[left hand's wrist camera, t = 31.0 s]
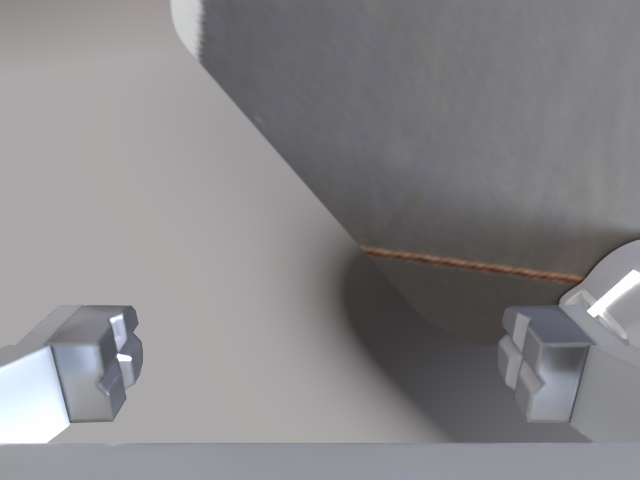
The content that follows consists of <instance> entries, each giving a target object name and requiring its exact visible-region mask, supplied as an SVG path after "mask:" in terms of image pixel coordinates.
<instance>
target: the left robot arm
mask: <svg viewBox="0 0 640 480" xmlns="http://www.w3.org/2000/svg"><path fill="white" fill-rule="evenodd" d="M137 325H138V320H137V315H136V311H135V309H134V308H133V307H132V306H114V305H84V304H83V305H61V306H58V307H57V308H56V309H54V310H53V311H52V312H51V313H50V314H49V315H48V316H47V317H46V318H45V319H44V320H43V321H41V322H40V323H39V324H38V325H37V326H36V327H35V328H34V329H33V330H32V331H31V332H30V333H28V334H27V335H26V336H25V337H24V338H23V339H22V340H21V341H20V342H19V343H18V344H16V345H7V346H5V347H2V348H0V480H640V239H639V240H636V241H633V242H630V243H628V244H625V245H623V246H621V247H620V248H618V249H616V250H614V251H613V252H611V253H610V254H609V255H607V256H606V257H605V258H604V259H602V260H601V261H600V262H599V263H598V264H597V265H596V266H595V267H594V269H593V270H592V271H591V272H590V274H589V275H588V276H587V277H586V279H585V280H584V281H583V282H582V283H581V284H579V285H577V286H576V287H574V288H573V289H571V290H570V291H568V292H567V293H566V294H564V295H563V296H562V297H561V299H560V301H559V305H534V306H509V307H506V309H505V311H504V314H503V319H502V325H503V327H504V328H505V330H506V331H507V333H506V334H505V335H504V336H503V337H502V338H501V339H500V341H499V343H498V351H497V360H498V368H499V371H500V375H501V377H502V379H503V381H504V383H505V384H506V385H508V386H509V387H511V388H512V389H514V390H515V394H514V400H515V402H516V403H517V405H518V407H519V409H520V410H521V412H522V414H523V415H524V417H525V419H526V420H527V422H558V423H570V425H571V426H572V427H574V428H575V429H576V430H578V431H579V432H580V433H582V434H583V435H584V436H586V437H587V438H588V439H590V440H591V441H592V442H593V443H47V442H48V441H49V440H51V439H52V438H53V437H55V436H56V435H57V434H59V433H60V432H61V431H62V430H64V429H65V428H67V427H68V426H69V425H70V423H82V422H113V421H114V419H115V417H116V415H117V414H118V412H119V410H120V408H121V407H122V405H123V403H124V402H125V400H126V394H125V390H126V389H128V388H129V387H131V386H132V385H134V384H135V382H136V381H137V379H138V377H139V375H140V371H141V367H142V363H143V349H142V343H141V341H140V339H139V338H138V337H137V336H136V335H135V334H134V333H133V331H134V330H135V328H136V327H137Z"/></svg>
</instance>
